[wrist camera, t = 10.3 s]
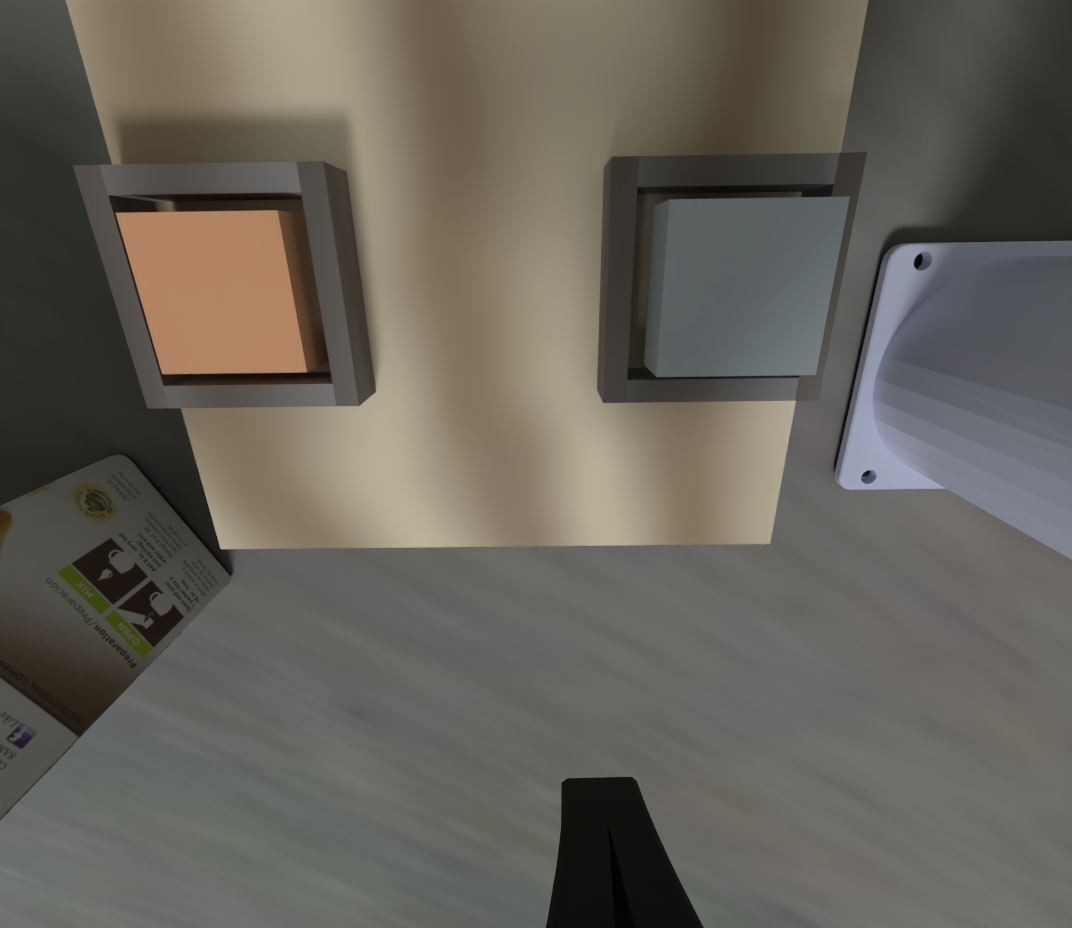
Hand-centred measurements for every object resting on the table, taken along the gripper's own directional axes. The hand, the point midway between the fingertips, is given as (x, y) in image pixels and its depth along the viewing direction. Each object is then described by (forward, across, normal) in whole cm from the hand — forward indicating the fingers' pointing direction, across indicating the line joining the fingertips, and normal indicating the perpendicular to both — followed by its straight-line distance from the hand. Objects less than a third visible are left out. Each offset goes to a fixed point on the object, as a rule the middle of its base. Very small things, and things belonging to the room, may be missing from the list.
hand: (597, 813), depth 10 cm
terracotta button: (+7, +8, -9) cm, 15 cm away
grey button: (+6, -4, -9) cm, 12 cm away
